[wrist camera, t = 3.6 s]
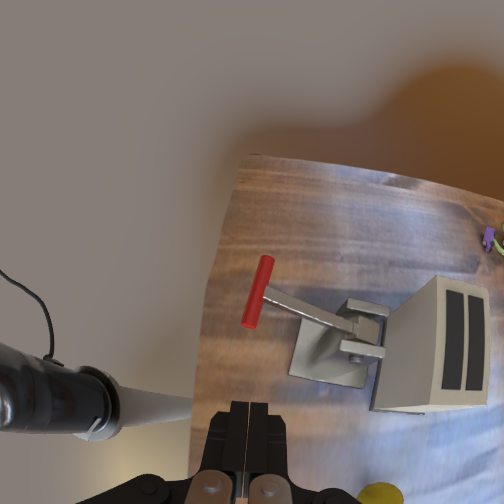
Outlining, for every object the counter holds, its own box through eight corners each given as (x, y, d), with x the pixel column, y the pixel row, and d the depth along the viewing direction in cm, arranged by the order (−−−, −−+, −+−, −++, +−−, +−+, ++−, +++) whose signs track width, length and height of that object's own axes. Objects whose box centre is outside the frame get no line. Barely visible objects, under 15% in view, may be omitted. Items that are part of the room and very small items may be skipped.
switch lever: (235, 325, 22) (246, 321, 20) (255, 260, 25) (267, 250, 23) (357, 366, 25) (374, 364, 23) (365, 310, 28) (381, 305, 26)
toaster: (368, 410, 31) (426, 407, 18) (383, 315, 37) (435, 270, 25) (421, 414, 29) (489, 407, 17) (431, 325, 36) (490, 286, 24)
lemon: (349, 480, 26) (372, 496, 19) (388, 474, 25) (417, 485, 19) (345, 514, 23) (365, 535, 16) (383, 507, 23) (410, 524, 16)
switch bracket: (287, 375, 34) (304, 360, 22) (301, 317, 37) (321, 275, 26) (361, 388, 32) (408, 377, 21) (370, 332, 36) (415, 297, 25)
